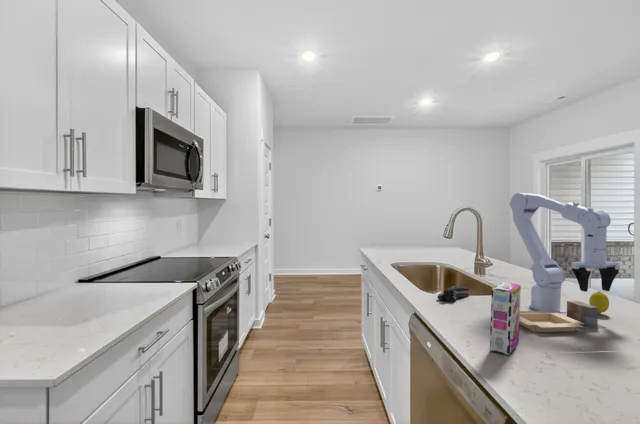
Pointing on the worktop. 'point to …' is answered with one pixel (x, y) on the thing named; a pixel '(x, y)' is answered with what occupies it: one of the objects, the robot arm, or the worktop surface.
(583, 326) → the rubber mat
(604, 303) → the lemon
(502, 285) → the candy bar box
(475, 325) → the worktop surface
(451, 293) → the can opener
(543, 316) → the carton
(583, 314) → the walnut box
